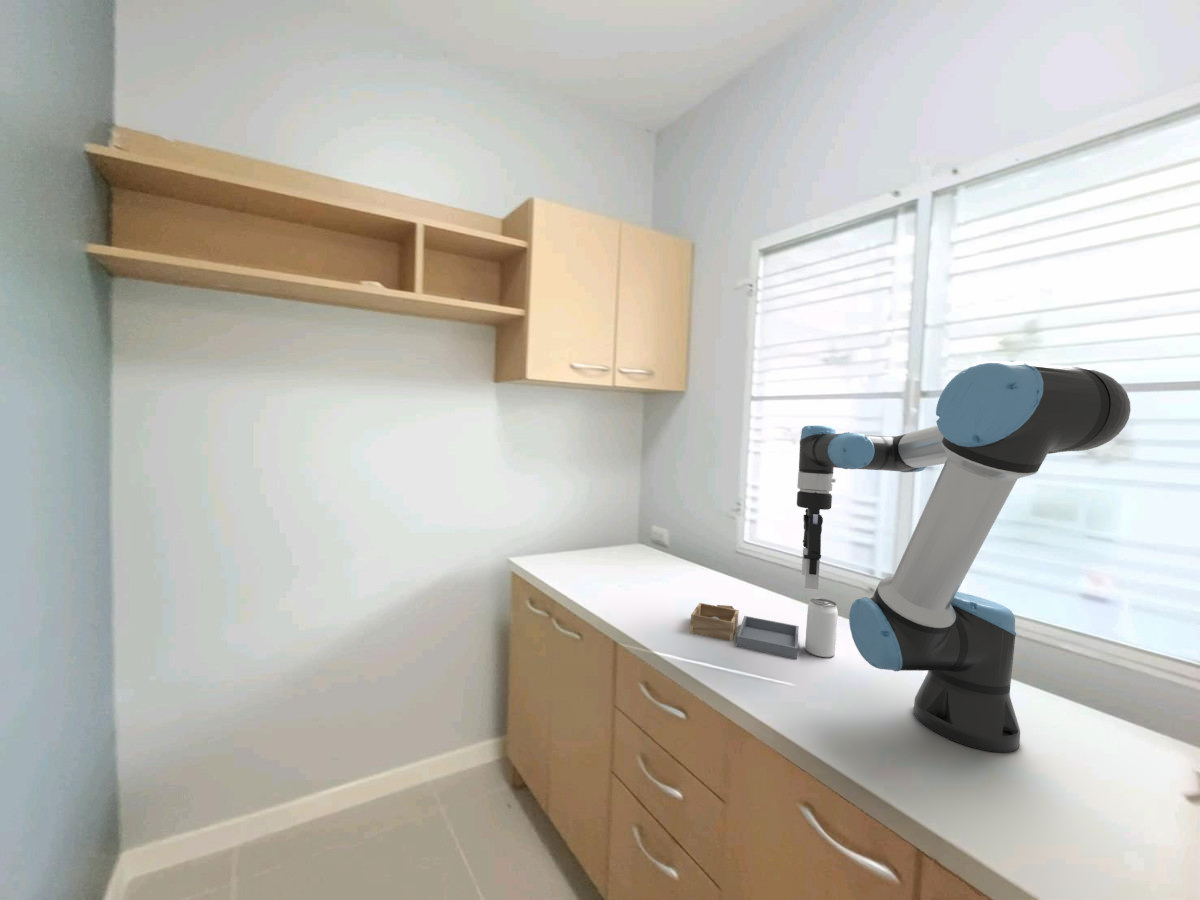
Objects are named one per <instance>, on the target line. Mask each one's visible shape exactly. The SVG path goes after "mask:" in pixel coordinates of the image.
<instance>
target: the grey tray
mask: <svg viewBox="0 0 1200 900" xmlns="http://www.w3.org/2000/svg"><path fill="white" fill-rule="evenodd" d="M735 645H736V646H735V647H738V648H743V649H746V650H752V651H756V652H761V653H766V654H770V655H774V656H780V657H785V658H789V659H793V660H798V650H799V649H798V648H799V625H795V624H791V623H790V624H789V623H784V622H780V621H779V622H778V621H775V620H768V619H763V618H759V617H753V616H747V615H744V616H743V619H742V622H741V624H740V627H739V630H738V633H737V636H736V644H735Z"/></svg>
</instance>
